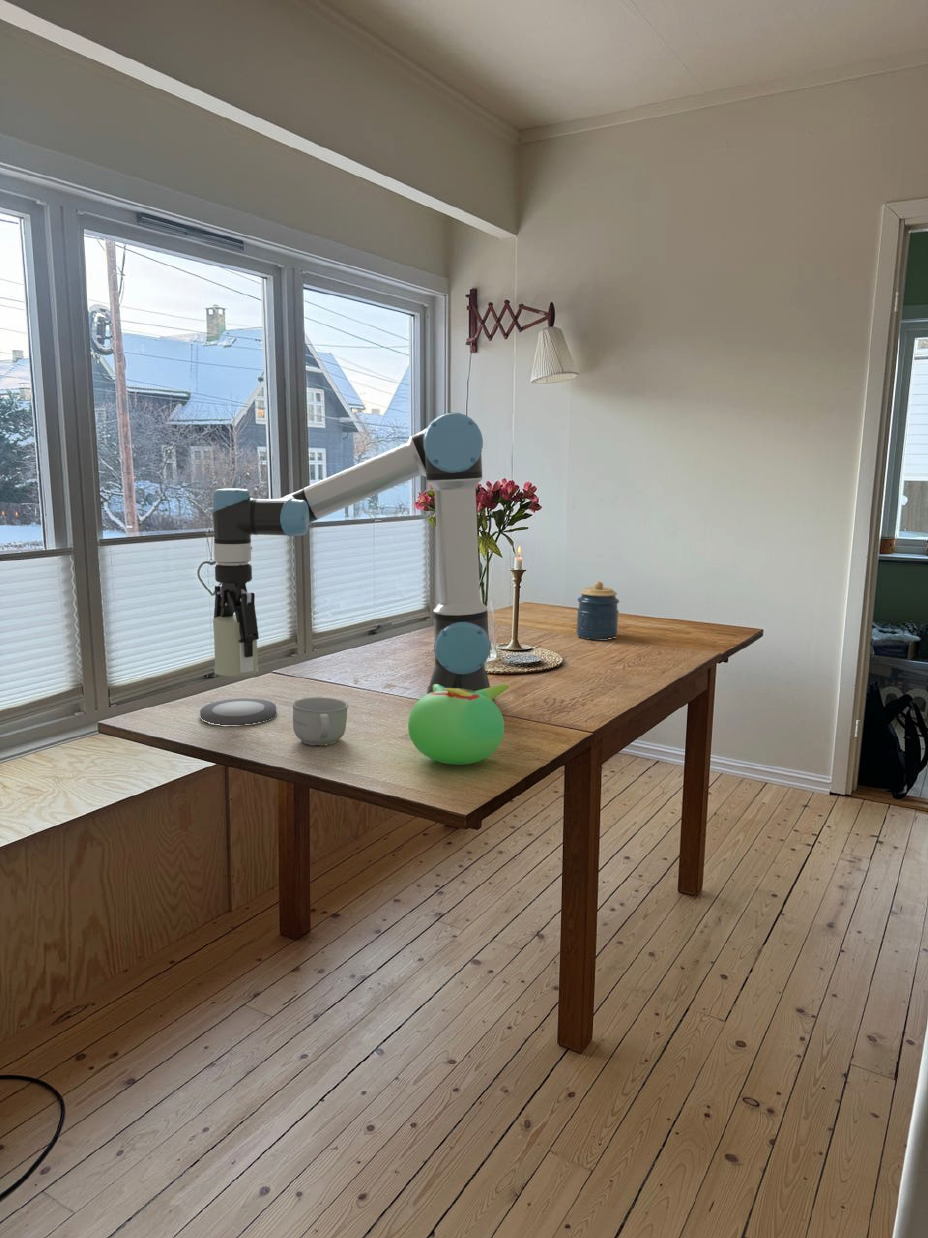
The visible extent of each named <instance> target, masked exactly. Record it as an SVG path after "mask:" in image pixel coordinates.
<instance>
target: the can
mask: <svg viewBox="0 0 928 1238" xmlns="http://www.w3.org/2000/svg"><path fill="white" fill-rule="evenodd" d="M256 620H257V621H258V618H257V617H256ZM212 624H213V625H212V626H214V627H213V644H214V645H213V646H214V647H213V648H214V670H213V671H214V674H215V675H218V676H222V677H245V676H250V675H254V674H256V673H258V672H259V663H258V640H254V641H253V667H254V671H250V672H243V673H241V672H240V649H239V642H238V641H239V640H240V639H241V636H240V632H239V622H237V620H236V615H235V614H233V616H229V617H221V616H219V617H216V618H214V617H213V619H212Z"/></svg>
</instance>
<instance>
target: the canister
mask: <svg viewBox="0 0 928 1238" xmlns="http://www.w3.org/2000/svg"><path fill="white" fill-rule="evenodd" d="M580 594H581V596H579V597H578V598H577V602H578V608H577V610H576V611H577V619H576V621H577V623H576V629H575V630H576V636H577V635H578V636H579V637H578V636H577V637H578V638H580V637H583V638H589V639H608V638H613V637H616V636H617V637H618V634H619V632H618V631H619V629H618V623H619V622H618V621H619V612H620V610H619V609H618V604H619V602H620V599H618V598H617V596H616V595H617V594H618V593H617V591H615V590H613V588H611V587H605V586H604V584H603V582H602V581H598V580H597V581H596V582H595V584H594V586H589V587H584V589H583V590H580ZM617 637H616V638H617ZM583 638H582V639H583Z"/></svg>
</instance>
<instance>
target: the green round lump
mask: <svg viewBox="0 0 928 1238" xmlns="http://www.w3.org/2000/svg"><path fill="white" fill-rule="evenodd" d="M509 687H510V686H509V685H508V684H498V685H494V686H490V687H489V688H486V689H482V690H478V691H473V690H469V689H459V688H444V687H443V686H441V685H438V684H434V685H433V692H431V693H429V694H427V693H426V694H425V695H424V696H422V697H421V698H420V699H419V700H418V701H416V703H415V704H414V706H413V707H412V709H411V711H410V714H409V718H408V722H407V723H408V725H407V726H408V727H407V728H408V730H407V731H408V734H409V738H410V741H411V742H412V744H413V745H414V747H415V748H416V749H417V750H418V752H420V753H421V754H423V755H424V756H425V757H427V758H428V759H431V760H433V761H435V762H439V763H442V764H446V765H454V766H455V765H457V766H462V765H471V764H475V763H479V762H481V761H484V760H486V759H488V758H489V757H491V756H492V755H493V754H494V753H495V752H496V751H497V750H498V748H499V747H500V745H501V743H502V742H503V741H502V740H503V737H504V736H505V735H504V734H505V721H504V717H503V715H502V714H503V713H502V712H501V710H500V708H499V706H498V705H497V704H496V703H495V702H494V701H493V700H494V699H495V698H497V697H499V696H500V695H501V694H503V693H504V692H506V691H507V690H508V689H509Z"/></svg>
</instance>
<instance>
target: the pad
mask: <svg viewBox="0 0 928 1238" xmlns="http://www.w3.org/2000/svg"><path fill="white" fill-rule="evenodd" d="M199 714H200V716H201V718H202V719H203V720H205V721H207V722H210V723H214V724H220V725H245V724H253V723H258V722H263V721H266V720H269V719H271V718H273V717H274V718H275V717H276V716H277V706H276V704H275V703H274V702H271V701H269V700H266V699H259V698H231V699H224V700H223V699H222V700H220V701H215V702H211V703H209V704H207V705H204V706H203V707H202V708H200V711H199ZM275 715H276V716H275ZM201 718H200V719H201ZM274 718H273V719H274ZM271 720H272V719H271ZM269 721H270V720H269ZM266 722H267V721H266ZM263 723H264V722H263Z"/></svg>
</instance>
